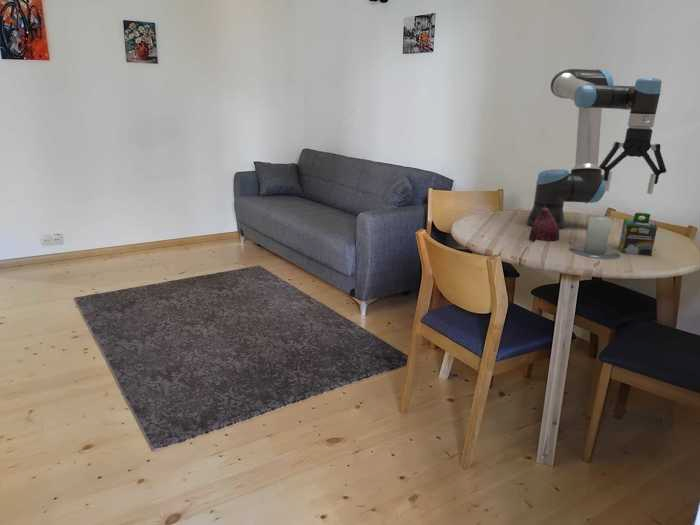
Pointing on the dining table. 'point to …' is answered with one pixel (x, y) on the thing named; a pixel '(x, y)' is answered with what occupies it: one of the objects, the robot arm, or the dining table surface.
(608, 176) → the robot arm
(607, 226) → the grey-green rectangular block
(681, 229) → the dining table surface
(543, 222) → the vegetable
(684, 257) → the dining table surface
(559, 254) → the dining table surface
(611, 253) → the dish
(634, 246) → the chalk box
